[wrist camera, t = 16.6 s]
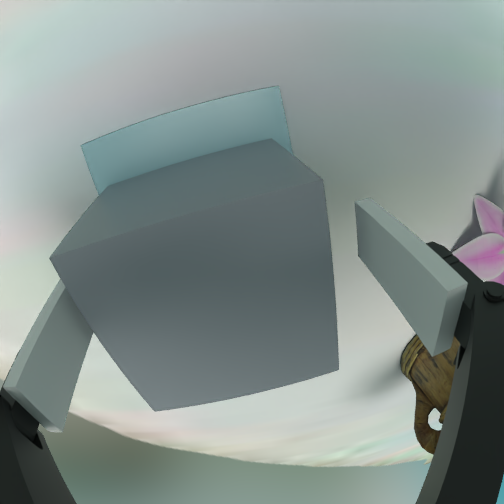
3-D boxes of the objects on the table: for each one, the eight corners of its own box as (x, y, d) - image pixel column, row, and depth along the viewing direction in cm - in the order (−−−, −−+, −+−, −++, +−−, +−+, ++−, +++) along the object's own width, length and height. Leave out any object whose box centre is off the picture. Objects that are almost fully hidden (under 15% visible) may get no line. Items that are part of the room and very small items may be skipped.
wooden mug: (354, 373, 30) (418, 522, 15) (457, 299, 28) (555, 425, 12) (379, 399, 34) (432, 516, 19) (465, 337, 32) (538, 442, 16)
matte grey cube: (271, 137, 18) (322, 179, 10) (297, 277, 23) (339, 369, 15) (108, 185, 18) (49, 258, 10) (163, 311, 23) (154, 411, 15)
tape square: (278, 85, 16) (278, 85, 16) (309, 260, 22) (310, 261, 22) (82, 145, 16) (80, 145, 16) (148, 302, 22) (148, 303, 22)
